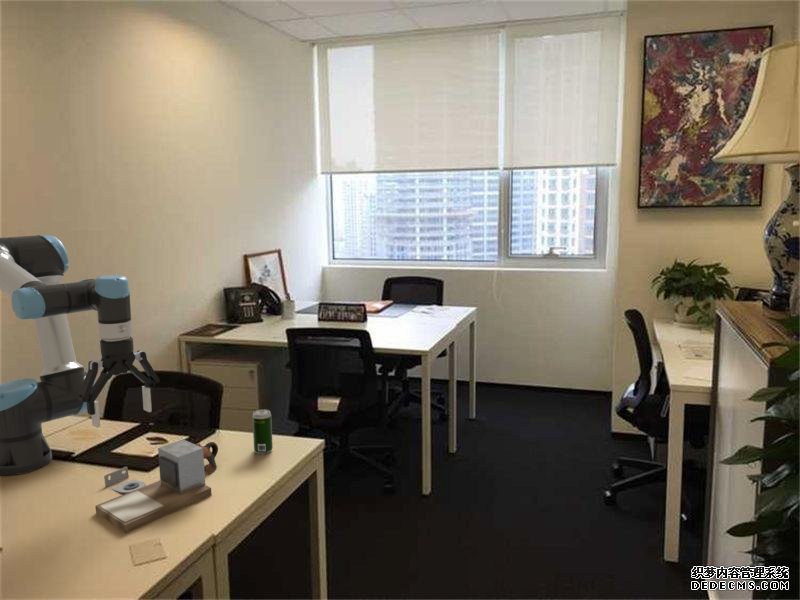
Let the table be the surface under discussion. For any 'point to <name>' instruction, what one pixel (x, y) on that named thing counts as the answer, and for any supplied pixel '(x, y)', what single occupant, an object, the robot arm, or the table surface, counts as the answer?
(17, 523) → the table surface
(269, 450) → the beer can
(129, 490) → the bracket
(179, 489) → the grey box
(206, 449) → the pottery mug
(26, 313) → the robot arm
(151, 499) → the brown wooden flat board
